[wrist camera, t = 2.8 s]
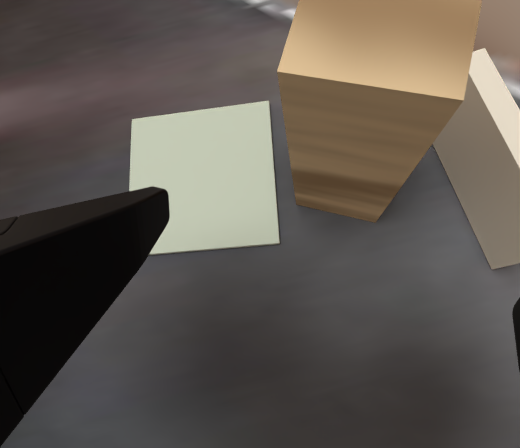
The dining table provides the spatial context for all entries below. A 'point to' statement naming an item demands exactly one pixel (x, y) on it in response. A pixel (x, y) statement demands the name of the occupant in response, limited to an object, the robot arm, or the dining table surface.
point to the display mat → (210, 176)
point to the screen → (486, 161)
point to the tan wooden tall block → (370, 94)
